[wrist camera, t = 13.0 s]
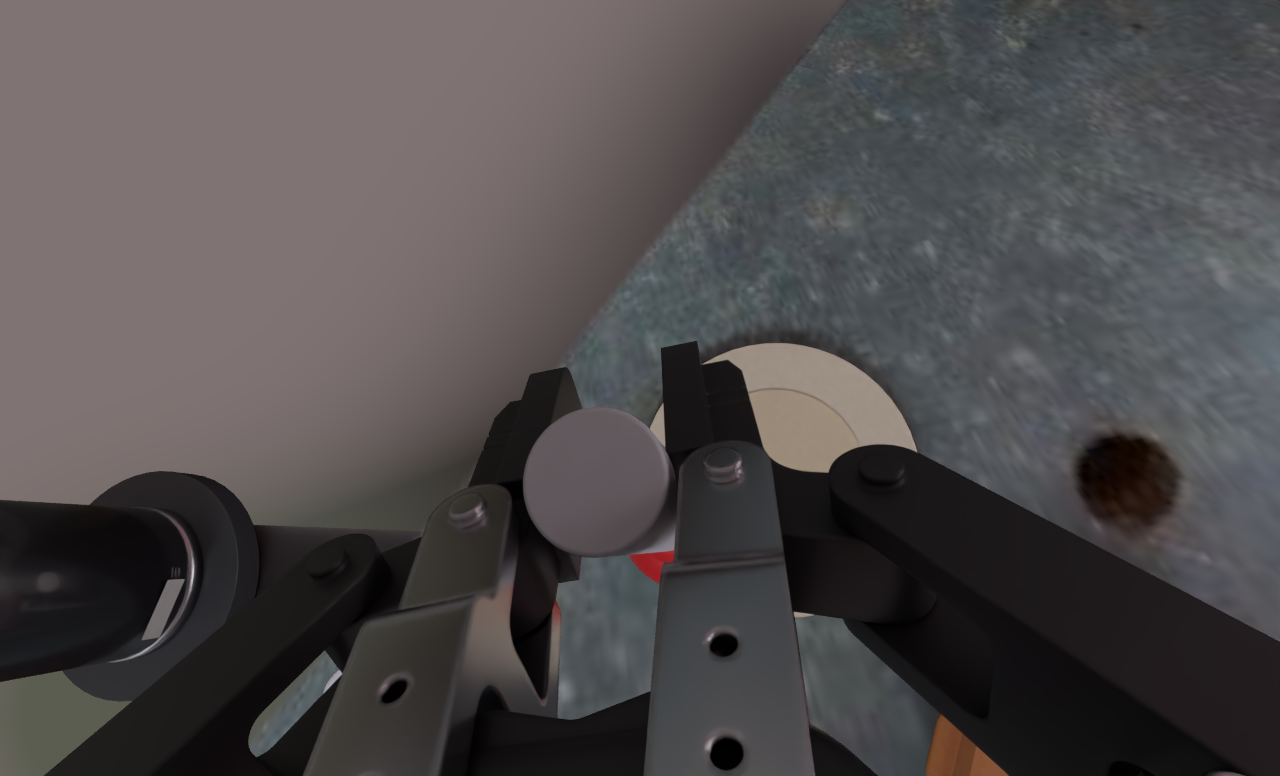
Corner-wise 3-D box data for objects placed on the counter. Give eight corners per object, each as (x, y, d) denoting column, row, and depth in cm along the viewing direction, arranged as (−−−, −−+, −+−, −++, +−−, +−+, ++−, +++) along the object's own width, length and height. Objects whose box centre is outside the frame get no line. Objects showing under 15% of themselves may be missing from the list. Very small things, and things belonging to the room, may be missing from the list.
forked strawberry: (652, 600, 23) (466, 709, 8) (619, 481, 24) (405, 374, 9) (771, 565, 23) (823, 608, 7) (731, 446, 24) (707, 272, 9)
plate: (615, 575, 37) (612, 575, 36) (675, 326, 40) (674, 321, 39) (894, 651, 34) (898, 654, 33) (936, 373, 37) (941, 368, 36)
